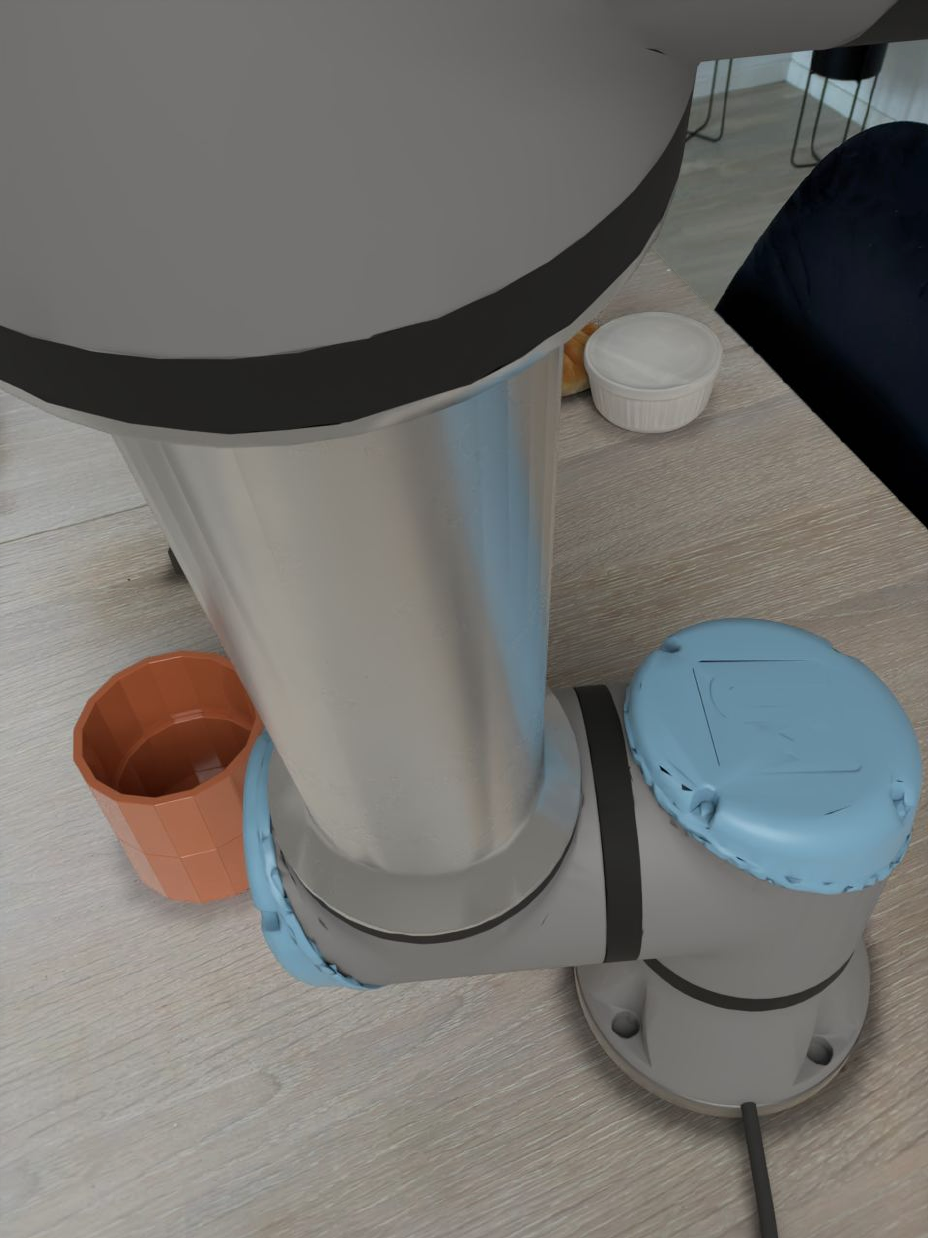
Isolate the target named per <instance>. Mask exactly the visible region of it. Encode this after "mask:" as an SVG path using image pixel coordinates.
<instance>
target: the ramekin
mask: <svg viewBox="0 0 928 1238" xmlns="http://www.w3.org/2000/svg"><path fill="white" fill-rule="evenodd" d="M599 327H600V328H598V329H597V330H596V331H595V332H594V333H593V334H592V335H591V336H590V337H589V339H588V340H587V342H586V345H585V348H584V366H585V369H586V371H587V373H588V376H589V382H590V391H591V396H592V401H593V404H594V405H595V408H596V409H597V411H598V413H600V414H601V416H603V418H605V419H606V420H607V421H609V422H610V423H611V424H613V425H615V426H616V427H618V428H621V429H623V430H626V431H629V432H634V433H638V434H663V433H664V434H665V433H669V432H672V431H676V430H679V429H681V428H683V427H685V426H687V425H689V424H691V422H693V421H694V420H695V419H697V418H698V417H699V415H701V414H702V412H703V411H704V410H705V409H706V407H707V405H708V404H709V400H710V397H711V394H712V392H713V389H714V385H715V382H716V378H717V376H718V374H719V373H720V371H721V368H722V366H723V362H724V361H723V360H724V349H723V344H722V342H721V341H722V340H720V338H719V336H718V335H717V334H716V333H715V332H714V331H713V330H712V329H711V328H710V327H709V326H707V325H705V324H704V323H702V322H700V321H698V320H696V319H694V318H691V317H688V316H685V315H681V314H676V313H674V312H666V311H665V312H664V311H643V312H636V313H631V314H626V315H624V316H619V317H617V318H614V319H612V320H610V321H608V322H606V323H604V324H602V325H601V326H599Z"/></svg>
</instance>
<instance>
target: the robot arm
mask: <svg viewBox="0 0 928 1238" xmlns="http://www.w3.org/2000/svg"><path fill="white" fill-rule="evenodd" d="M925 40H926V41H927V40H928V0H0V390H2V391H3V392H5V393H7V394H8V395H10V396H12V397H14V398H16V399H18V400H21V401H23V402H25V403H27V404H29V405H31V406H32V407H35V408H37V409H39V410H41V411H43V412H45V413H47V414H50V415H52V416H53V417H55V418H59V419H60V420H65V421H68V422H70V423H74V424H77V425H80V426H83V427H86V428H89V429H93V430H97V431H98V432H102V433H106V434H109V435H110V436H111V437H112V440H113V442H114V443H115V445H116V448H117V449H118V450H119V453H120V454H121V457H122V458H123V460H124V463H125V464H126V466H127V468H128V469H129V472H130V474H131V475H132V477H133V479H134V481H135V483H136V485H137V486H138V489H139V490H140V492H141V495H142V496H143V498H144V500H145V503H146V504H147V506H148V507H149V509H150V511H151V513H152V515H153V518H154V519H155V521H156V523H157V525H158V526H159V529H160V530H161V532H162V534H163V536H164V538H165V540H166V542H167V543H168V546H169V548H170V547H171V549H172V551H173V553H174V555H175V557H176V559H177V561H178V563H179V564H180V566H181V568H182V570H183V572H184V574H185V575H184V576H185V578H186V580H187V582H188V584H189V586H190V587H191V589H192V591H193V593H194V595H195V597H196V599H197V601H198V602H199V604H200V606H201V608H202V610H203V612H204V614H205V616H206V618H207V619H208V621H209V623H210V625H211V627H212V629H213V631H214V633H215V634H216V636H217V638H218V641H219V643H220V644H221V646H222V648H223V650H224V652H225V653H226V655H227V658H228V659H230V661H231V663H232V665H233V667H234V669H235V671H236V673H237V674H238V676H239V678H240V680H241V682H242V684H243V686H244V688H245V690H246V691H247V693H248V695H249V697H250V699H251V701H252V703H253V705H254V707H255V709H256V710H257V712H258V714H259V716H260V718H261V720H262V722H263V724H264V726H265V729H264V731H263V733H262V735H260V736H259V737H258V738H257V739H256V741H255V743H254V745H253V747H252V750H251V753H250V756H249V760H248V764H247V769H246V774H245V781H244V792H243V844H244V854H245V863H246V870H247V877H248V882H249V886H250V888H249V890H250V894H251V899H252V903H253V907H254V908H255V909H256V910H258V911H260V915H261V920H260V921H261V922H260V927H261V932H262V936H263V938H264V941H265V942H266V945H267V946H268V948H269V950H270V952H271V954H272V955H273V957H274V959H275V961H276V962H277V963H278V964H279V965H280V966H281V968H282V969H283V970H284V972H286V973H287V974H288V975H290V977H292V978H293V979H295V980H297V981H299V982H301V983H303V984H305V985H309V986H312V987H316V988H333V987H334V988H338V987H340V988H341V987H342V988H343V987H344V988H347V989H350V990H356V991H373V990H379V989H382V988H385V987H388V986H390V985H397V984H407V983H417V982H428V981H437V980H447V979H448V980H449V979H458V978H467V977H469V978H470V977H478V976H489V975H498V974H499V975H500V974H508V973H509V974H510V973H518V972H519V973H520V972H527V971H537V970H539V971H540V970H547V969H548V970H549V969H559V968H568V967H573V973H574V984H575V988H576V993H577V997H578V1001H579V1005H580V1007H581V1011H582V1014H583V1015H584V1019H585V1020H586V1022H587V1024H588V1026H589V1029H590V1031H591V1032H592V1034H593V1036H594V1037H595V1039H596V1041H597V1042H598V1044H599V1046H601V1048H602V1049H603V1051H604V1052H605V1053H606V1054H607V1056H608V1057H609V1058H610V1059H611V1060H612V1061H613V1062H614V1064H615V1065H616V1066H617V1067H618V1068H619V1069H620V1070H621V1071H622V1072H623V1073H625V1074H626V1076H628V1077H629V1078H630V1080H632V1081H634V1082H635V1083H636V1084H637V1085H639V1086H640V1087H642V1088H643V1089H644V1090H646V1091H648V1092H649V1093H651V1094H652V1095H654V1096H656V1097H658V1098H660V1099H661V1100H664V1101H665V1102H667V1103H670V1104H672V1105H674V1106H677V1107H680V1108H682V1109H684V1110H688V1111H692V1112H695V1113H698V1114H701V1115H707V1116H713V1117H721V1118H729V1119H730V1118H732V1119H734V1118H736V1119H737V1118H739V1119H740V1118H742V1123H743V1128H744V1129H743V1130H744V1135H745V1140H746V1147H747V1153H748V1159H749V1164H750V1171H751V1176H752V1177H751V1178H752V1183H753V1188H754V1194H755V1201H756V1207H757V1213H758V1220H759V1228H760V1236H761V1238H779V1232H778V1225H777V1219H776V1212H775V1206H774V1201H773V1200H774V1199H773V1194H772V1189H771V1183H770V1182H771V1181H770V1178H769V1171H768V1170H769V1169H768V1166H767V1161H766V1160H767V1158H766V1154H765V1148H764V1142H763V1137H762V1131H761V1125H760V1119H759V1117H762V1116H767V1115H771V1114H775V1113H779V1112H782V1111H784V1110H789V1109H790V1108H793V1107H795V1106H797V1105H799V1104H801V1103H803V1102H805V1101H807V1100H808V1099H811V1098H812V1097H814V1096H815V1095H816V1094H817V1093H818V1092H820V1091H821V1090H822V1089H823V1088H825V1087H826V1086H827V1085H828V1084H829V1083H830V1082H832V1080H833V1079H834V1078H835V1077H836V1076H837V1075H838V1074H839V1072H840V1071H841V1070H842V1069H843V1067H844V1066H845V1064H846V1062H847V1061H848V1059H849V1058H850V1056H851V1055H852V1052H853V1051H854V1049H855V1047H856V1045H857V1043H858V1042H859V1039H860V1036H861V1034H862V1032H863V1030H864V1026H865V1023H866V1020H867V1017H868V1012H869V1008H870V1000H871V968H870V960H869V955H868V950H867V945H866V942H865V938H864V931H865V930H866V927H867V925H868V922H869V920H870V918H871V916H872V914H873V912H874V909H875V907H876V905H877V903H878V900H879V899H880V897H881V895H882V893H883V892H884V891H883V890H884V888H885V887H886V885H887V882H888V881H889V879H890V877H891V875H892V873H893V871H894V870H895V869H896V868H897V867H898V866H899V865H900V864H901V863H902V861H903V859H904V857H905V855H906V853H907V851H908V849H909V847H910V844H911V841H912V838H913V837H912V836H913V832H914V822H915V817H916V813H917V810H918V806H919V802H920V798H921V795H922V788H923V780H924V777H923V776H924V768H923V767H924V766H923V756H922V752H921V747H920V743H919V740H918V736H917V734H916V731H915V728H914V726H913V723H912V722H911V719H910V718H909V715H908V714H907V712H906V710H905V709H904V707H903V705H902V704H901V702H900V701H899V699H898V698H897V696H896V695H895V694H894V693H893V691H892V690H891V689H890V687H889V686H888V685H887V683H885V681H883V680H882V678H881V677H879V675H878V674H877V673H875V672H874V671H873V670H872V669H871V668H870V667H869V666H868V665H866V664H865V663H864V662H862V660H860V659H859V658H858V657H854V656H851V655H848V654H845V653H843V652H841V651H839V650H837V649H836V648H835V647H834V646H833V644H832V642H831V641H830V640H828V639H826V638H824V637H822V636H820V635H818V634H817V633H813V632H810V631H808V630H806V629H804V628H800V627H798V626H795V625H791V624H787V623H783V622H779V621H774V620H768V619H762V618H755V617H754V618H751V617H723V618H715V619H709V620H705V621H701V622H697V623H693V624H691V625H687V626H685V627H683V628H680V629H679V630H677V631H675V632H673V633H671V634H669V635H667V636H666V638H665V639H664V640H663V643H662V644H661V646H660V647H659V648H658V649H653V650H651V651H649V652H648V653H647V654H646V655H645V657H644V658H643V659H642V660H641V662H640V663H639V664H638V666H637V667H636V668H635V671H634V675H633V676H631V678H629V681H626V682H625V681H623V682H613V683H604V684H603V683H600V684H590V685H589V684H588V685H577V686H569V687H558V688H557V687H556V688H549V686H547V669H548V648H549V629H550V613H551V612H550V611H551V593H552V592H551V591H552V575H553V574H552V573H553V559H554V557H553V556H554V539H555V538H554V537H555V536H554V535H555V518H556V501H557V499H556V497H557V482H558V479H557V478H558V463H559V447H560V445H559V444H560V443H559V442H560V429H561V428H560V426H561V407H562V396H561V390H562V372H563V353H564V344H565V343H566V342H567V341H569V340H570V339H571V338H572V337H573V336H574V335H576V334H577V333H578V332H579V331H580V330H581V329H582V328H583V327H585V326H586V325H587V324H588V323H589V322H592V321H593V320H594V319H595V318H596V317H597V316H598V315H600V314H601V312H603V310H605V309H606V308H607V307H608V306H609V305H611V302H612V301H613V300H614V299H615V298H616V297H617V295H618V294H619V292H620V291H621V290H622V289H623V288H624V286H625V285H626V284H627V282H628V281H629V280H630V279H631V278H632V276H633V275H634V274H635V273H636V271H637V269H638V268H639V266H640V265H641V263H642V262H643V261H644V259H645V257H646V255H647V254H648V253H649V251H650V250H651V248H652V247H653V245H654V243H655V242H656V240H657V239H658V237H659V236H660V233H661V231H662V229H663V225H664V224H665V223H664V222H665V221H666V217H667V215H668V212H669V210H670V208H671V205H672V202H673V200H674V197H675V195H676V191H677V187H678V181H679V178H680V172H681V169H682V164H683V159H684V154H685V148H686V142H687V137H688V131H689V123H690V116H691V111H692V105H693V104H692V103H693V97H694V92H695V91H694V90H695V85H696V79H697V73H698V68H699V66H700V64H701V63H704V62H706V63H707V62H713V61H725V60H734V59H743V58H752V57H753V58H754V57H761V56H762V57H763V56H771V55H773V56H774V55H780V54H781V55H783V54H789V53H801V52H809V51H823V50H830V49H836V48H837V49H838V48H848V47H857V46H858V47H859V46H869V45H880V44H881V45H882V44H893V43H903V42H914V41H925Z"/></svg>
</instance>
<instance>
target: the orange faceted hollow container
mask: <svg viewBox="0 0 928 1238" xmlns="http://www.w3.org/2000/svg"><path fill="white" fill-rule="evenodd" d="M74 725H75V726H74V727H73V730H72V736H73V737H72V760H73V762H74V764H75V766H76V768H77V770H78V772H79V773H80V774H81V777H82V778H83V780H84V782H85V784H86V785H87V788H88V789H89V791H90V792H91V795H92V796H93V798H94V799H95V801H96V803H97V805H98V806H99V808H100V810H101V812H102V814H103V815H104V817H105V819H106V821H107V822H108V824H109V826H110V828H111V829H112V831H113V833H114V835H115V836H116V838H117V840H118V842H119V844H120V846H121V847H122V849H123V850H124V852H125V854H126V856H127V857H128V858H127V859H128V860H129V861H130V863H131V865H132V866H133V868H134V870H135V871H136V873H137V875H138V877H139V878H140V881H141V882H142V883H143V884H144V885H145V886H147V887H148V888H150V889H151V890H153V891H154V892H156V893H158V894H159V895H161V896H163V897H164V898H166V899H168V900H171V901H172V900H173V901H179V902H180V901H181V902H189V903H196V904H207V903H210V902H215V901H219V900H223V899H227V898H228V899H229V898H232V897H235V896H238V895H240V894H242V893H243V892H245V891H246V890H248V889H250V886H249V882H248V877H247V870H246V863H245V854H244V844H243V792H244V781H245V774H246V769H247V764H248V760H249V756H250V753H251V750H252V747H253V745H254V743H255V741H256V739H257V738H258V737H259V736H260V735H262V733H263V731H264V729H265V726H264V724H263V722H262V720H261V718H260V716H259V714H258V712H257V710H256V709H255V707H254V705H253V703H252V701H251V699H250V697H249V695H248V693H247V691H246V690H245V688H244V686H243V684H242V682H241V680H240V678H239V676H238V674H237V673H236V671H235V669H234V667H233V665H232V663H231V661H230V659H229V657H225V656H224V655H221V654H219V653H217V652H209V651H199V650H187V649H180V650H175V651H171V652H167V653H166V652H165V653H162V654H157V655H153V656H148V657H145V658H143V659H141V660H139V661H137V662H135V663H133V664H132V665H130V666H128V667H125V668H124V669H122V670H120V671H118V672H116V673H115V674H114V675H112V676H111V677H110V678H109V679H108V680H107V681H106V682H104V684H103V685H101V687H99V688H98V690H96V691H95V692H94V693H93V694H92V695H91V696H90V697H89V698H88V700H87V701H86V703H85V705H84V707H83V709H82V711H81V714H80V715H79V717H78V719H77V721H76V724H74Z"/></svg>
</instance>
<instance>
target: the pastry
mask: <svg viewBox="0 0 928 1238" xmlns="http://www.w3.org/2000/svg"><path fill="white" fill-rule="evenodd" d="M600 327H601V326H599V325H598V324H597V323H594V322H592V321H590V322H589V323H588V324H587V325H586V326H585V327H583V328H582V329H581V330H580V331H579V332H578V333H577V334H576V335H574V336H573V337H572V338H571V339H570V340H569V341H567V342H566V343H565V344H564V353H563V372H562V390H561V397H570V396H572V395H576V394H578V393H580V392H583V391H586V390H588V389H591V387H590V382H589V376H588V373H587V371H586V369H585V366H584V348H585V345H586V342H587V340H588V339H589V337H590V336H591V335H592V334H593V333H594V332H595V331H596V330H597V329H598V328H600Z"/></svg>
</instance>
